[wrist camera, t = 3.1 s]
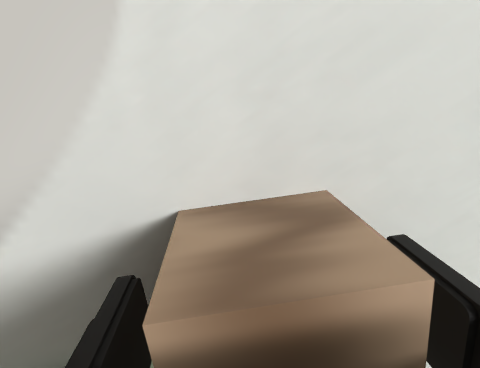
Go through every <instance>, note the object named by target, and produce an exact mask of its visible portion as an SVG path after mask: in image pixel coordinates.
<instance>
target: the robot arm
mask: <svg viewBox="0 0 480 368" xmlns="http://www.w3.org/2000/svg"><path fill="white" fill-rule="evenodd" d="M386 240H388V241H389V242H390V243H391V244H393V245H394V246H395V247H396V248H397V249H399V250H400V251H401V252H402V253H404V254H405V255H406V256H407V257H408V258H410V259H411V260H412V261H413V262H414V263H416V264H417V265H418V266H419V267H421V268H422V269H423V270H424V271H425V272H427V273H428V274H429V275H430V276H431V277H433V278H434V279H435V281H434V291H433V300H432V310H431V319H430V329H429V339H428V348H427V358H426V361H427V362H428V363H429V365H430V366H431V367H432V368H480V288H479V287H477V286H476V285H475V284H473V283H472V282H470V281H469V280H468V279H466V278H465V277H464V276H462V275H461V274H459V273H458V272H457V271H455V270H454V269H452V268H451V267H450V266H448V265H447V264H445V263H444V262H443V261H441V260H440V259H438V258H437V257H436V256H434V255H433V254H431V253H430V252H429V251H427V250H426V249H424V248H423V247H422V246H420V245H419V244H417V243H416V242H415V241H413V240H412V239H410V238H409V237H408V236H406V235H404V234H402V235H395V236H389V237H387V239H386ZM147 309H148V305H147V301H146V297H145V293H144V289H143V286H142V282H141V279H140V278H137V279H136V277H135V276H134V275H130V276H123V277H118V278H117V279H116V281H115V282H114V284H113V286H112V288H111V290H110V292H109V293H108V295H107V297H106V299H105V301H104V303H103V304H102V306H101V308H100V310H99V312H98V314H97V315H96V317H95V319H93V320H92V321H91V322H90V324H89V325H88V327H87V329H86V331H85V333H84V334H83V336H82V338H81V340H80V342H79V343H78V345H77V347H76V349H75V350H74V352H73V354H72V356H71V358H70V359H69V361H68V363H67V365H66V367H65V368H150V366H151V362H152V359H151V355H150V352H149V348H148V344H147V341H146V337H145V334H144V330H143V326H142V325H143V322H144V319H145V316H146V313H147Z"/></svg>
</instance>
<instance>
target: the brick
mask: <svg viewBox="0 0 480 368" xmlns="http://www.w3.org/2000/svg"><path fill="white" fill-rule="evenodd" d="M434 281H435V279H434V278H433V277H431V276H430V275H429V274H428V273H427V272H425V271H424V270H423V269H422V268H421V267H419V266H418V265H417V264H416V263H414V262H413V261H412V260H411V259H410V258H408V257H407V256H406V255H405V254H404V253H402V252H401V251H400V250H399V249H397V248H396V247H395V246H394V245H393V244H391V243H390V242H389V241H388V240H386V239H385V238H384V237H383V236H382V235H380V234H379V233H378V232H377V231H376V230H374V229H373V228H372V227H371V226H369V225H368V224H367V223H366V222H365V221H363V220H362V219H361V218H360V217H358V216H357V215H356V214H355V213H354V212H352V211H351V210H350V209H349V208H348V207H346V206H345V205H344V204H343V203H341V202H340V201H339V200H338V199H337V198H335V197H334V196H333V195H332V194H331V193H329V192H328V191H327V190H325V191H318V192H311V193H303V194H296V195H289V196H282V197H275V198H268V199H261V200H253V201H246V202H239V203H232V204H225V205H218V206H211V207H204V208H196V209H189V210H182V211H179V212H178V215H177V218H176V221H175V224H174V228H173V231H172V234H171V237H170V240H169V243H168V246H167V250H166V253H165V256H164V259H163V262H162V265H161V268H160V272H159V275H158V278H157V281H156V284H155V287H154V291H153V294H152V297H151V300H150V303H149V306H148V309H147V313H146V316H145V319H144V322H143V325H142V326H143V330H144V334H145V337H146V341H147V344H148V348H149V352H150V355H151V359H152V363H153V366H154V368H425V367H426V358H427V348H428V339H429V329H430V319H431V310H432V300H433V291H434Z"/></svg>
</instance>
